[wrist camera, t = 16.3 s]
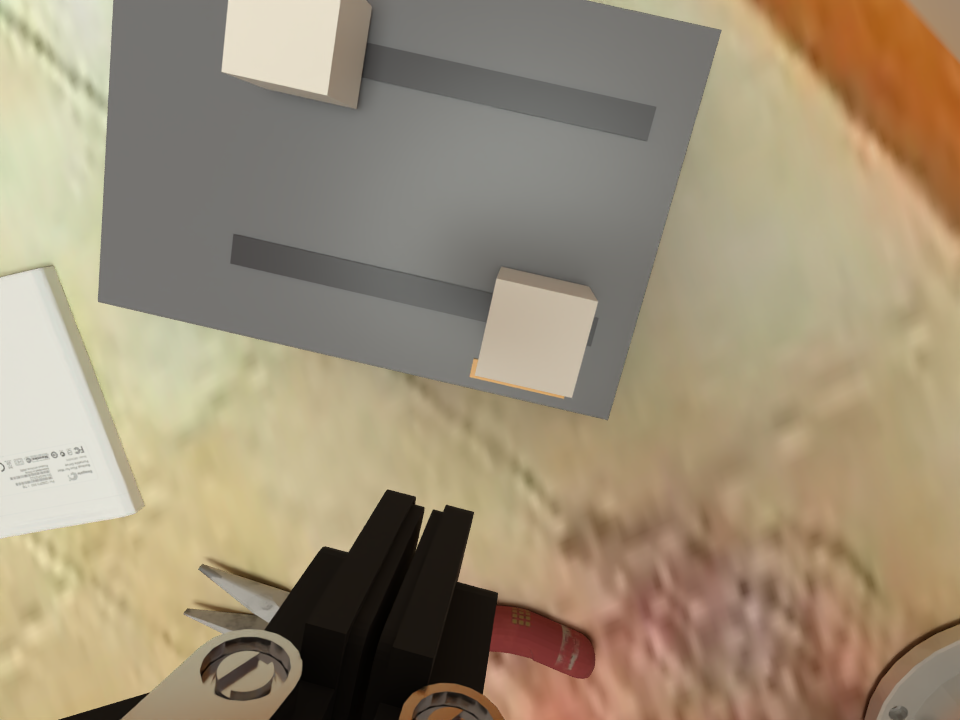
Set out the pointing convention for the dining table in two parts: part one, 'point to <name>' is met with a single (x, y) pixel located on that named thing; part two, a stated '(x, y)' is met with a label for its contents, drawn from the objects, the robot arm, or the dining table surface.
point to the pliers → (509, 635)
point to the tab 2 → (536, 332)
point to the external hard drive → (53, 417)
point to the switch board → (400, 179)
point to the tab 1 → (299, 46)
